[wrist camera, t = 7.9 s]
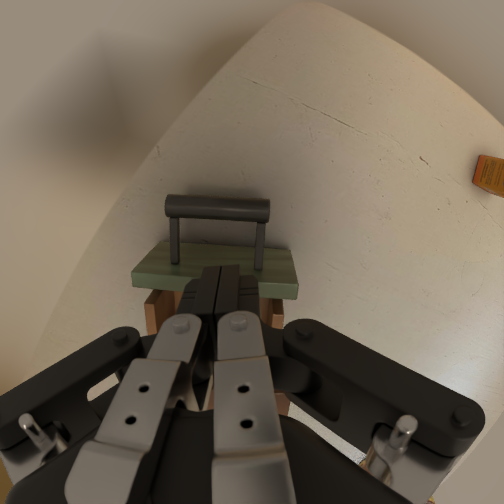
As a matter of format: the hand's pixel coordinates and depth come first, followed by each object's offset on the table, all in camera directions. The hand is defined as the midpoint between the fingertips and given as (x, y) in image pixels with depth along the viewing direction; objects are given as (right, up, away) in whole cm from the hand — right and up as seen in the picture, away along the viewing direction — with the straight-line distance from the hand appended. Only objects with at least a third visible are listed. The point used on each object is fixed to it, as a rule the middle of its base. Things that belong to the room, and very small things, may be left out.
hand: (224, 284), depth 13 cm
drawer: (-1, -2, +15) cm, 15 cm away
